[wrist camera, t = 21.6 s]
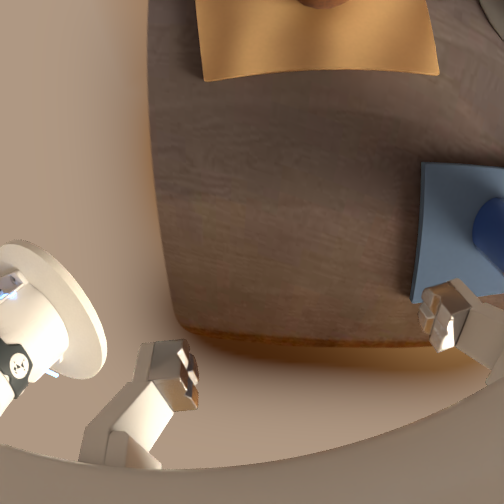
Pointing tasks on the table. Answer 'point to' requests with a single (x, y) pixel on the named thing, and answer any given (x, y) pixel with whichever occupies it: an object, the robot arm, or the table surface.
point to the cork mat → (313, 37)
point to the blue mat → (454, 227)
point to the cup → (495, 14)
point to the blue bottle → (490, 232)
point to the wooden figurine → (322, 3)
